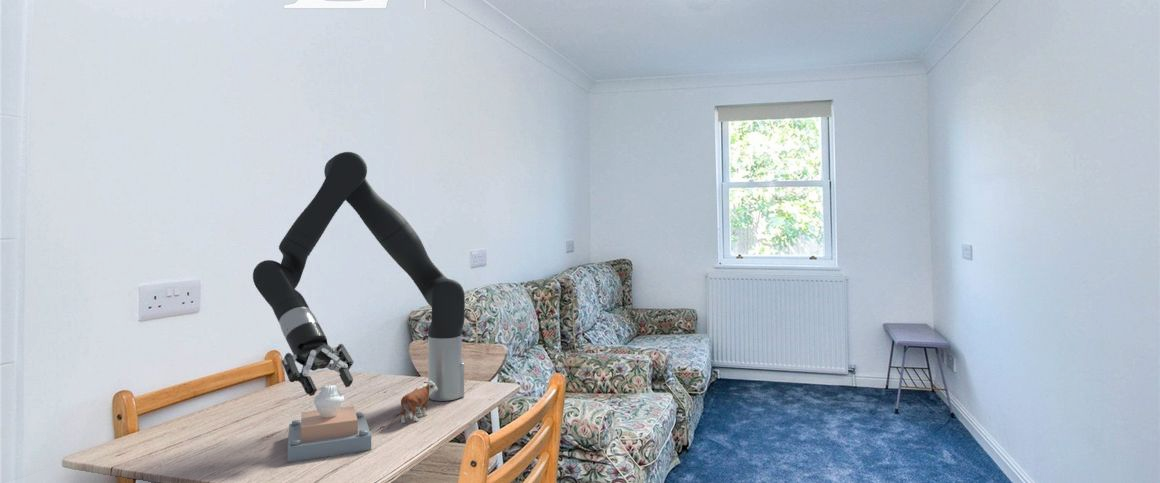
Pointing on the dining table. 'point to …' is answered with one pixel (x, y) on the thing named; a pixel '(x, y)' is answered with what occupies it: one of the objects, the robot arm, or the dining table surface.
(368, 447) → the grey pegged tray
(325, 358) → the robot arm
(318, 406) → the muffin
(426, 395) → the bull figurine
